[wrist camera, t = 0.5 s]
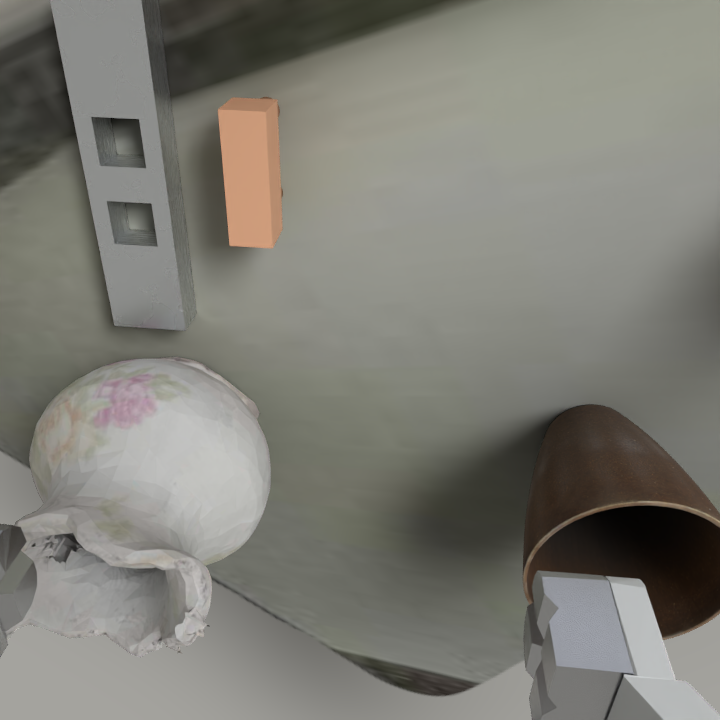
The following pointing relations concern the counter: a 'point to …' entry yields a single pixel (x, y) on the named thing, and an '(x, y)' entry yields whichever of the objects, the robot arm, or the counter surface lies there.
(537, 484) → the plant pot
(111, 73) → the rail
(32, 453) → the ceramic pitcher
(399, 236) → the counter surface
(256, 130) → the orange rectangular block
